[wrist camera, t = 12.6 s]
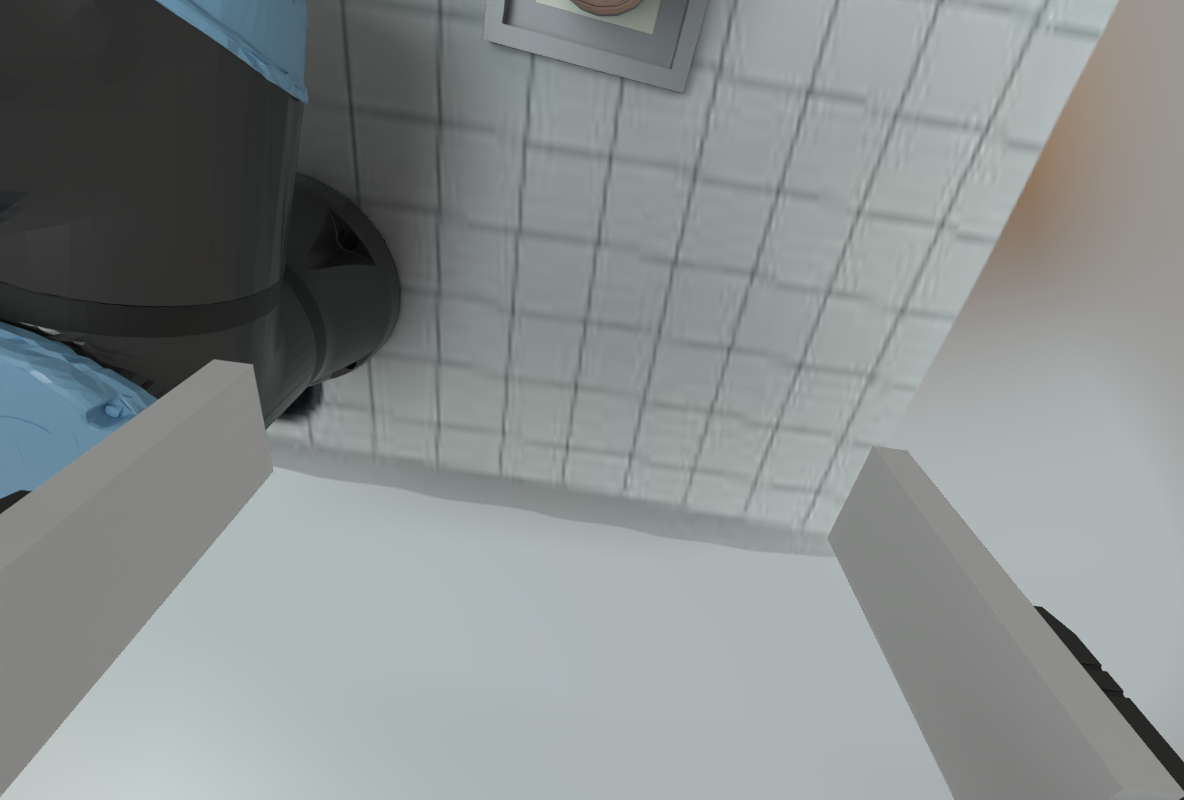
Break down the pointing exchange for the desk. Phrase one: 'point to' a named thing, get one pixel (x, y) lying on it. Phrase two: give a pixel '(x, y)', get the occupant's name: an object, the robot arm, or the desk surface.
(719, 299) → the desk surface
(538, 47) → the tray
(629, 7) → the cup
